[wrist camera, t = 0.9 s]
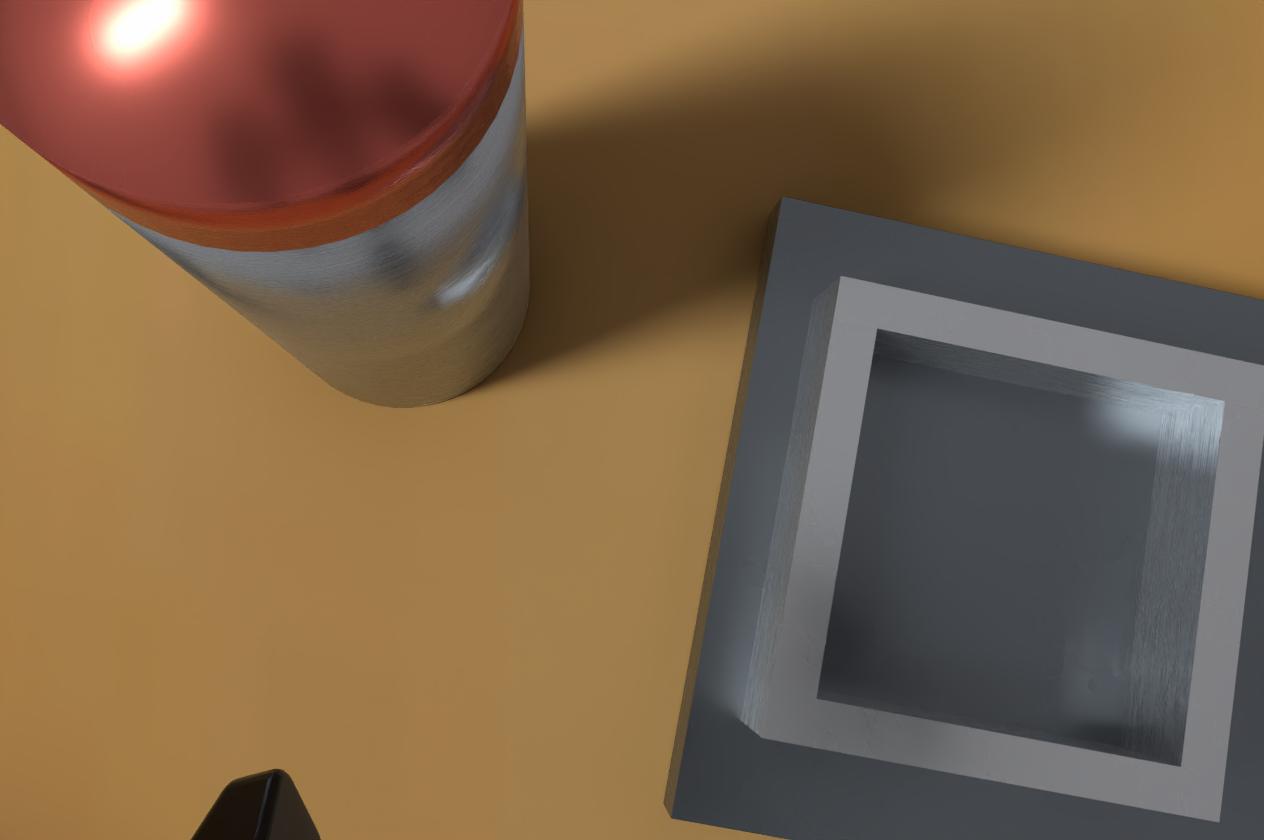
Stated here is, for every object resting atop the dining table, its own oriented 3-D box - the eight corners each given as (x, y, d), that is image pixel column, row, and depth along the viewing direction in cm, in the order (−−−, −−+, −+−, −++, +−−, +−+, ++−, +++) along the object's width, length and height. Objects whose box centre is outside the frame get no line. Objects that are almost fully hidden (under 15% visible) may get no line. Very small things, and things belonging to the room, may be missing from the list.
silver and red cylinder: (502, 430, 22) (453, 259, 9) (250, 379, 22) (-172, 129, 9) (551, 192, 22) (572, -285, 10) (308, 140, 22) (-5, -424, 9)
